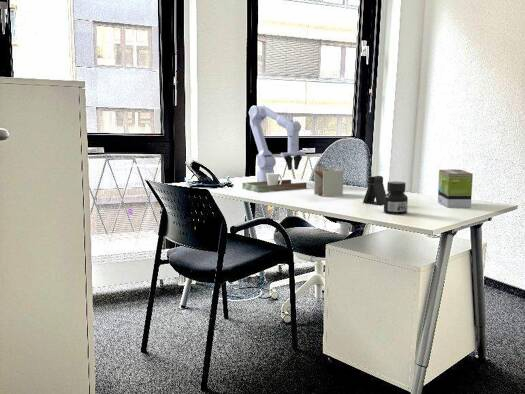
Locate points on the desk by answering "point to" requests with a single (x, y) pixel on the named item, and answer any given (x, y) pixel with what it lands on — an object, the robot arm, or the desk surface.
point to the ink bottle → (395, 198)
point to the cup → (273, 178)
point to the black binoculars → (375, 191)
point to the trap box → (272, 186)
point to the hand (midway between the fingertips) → (292, 169)
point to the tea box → (455, 188)
